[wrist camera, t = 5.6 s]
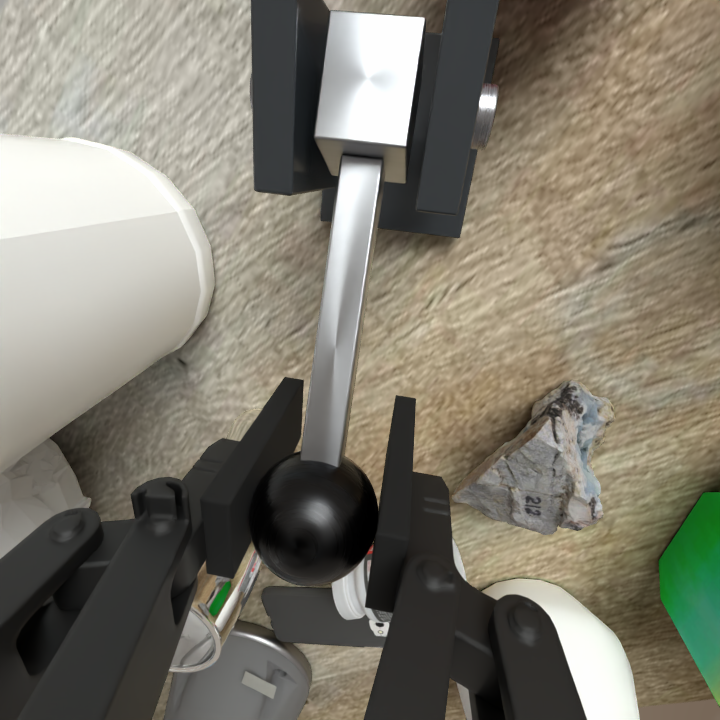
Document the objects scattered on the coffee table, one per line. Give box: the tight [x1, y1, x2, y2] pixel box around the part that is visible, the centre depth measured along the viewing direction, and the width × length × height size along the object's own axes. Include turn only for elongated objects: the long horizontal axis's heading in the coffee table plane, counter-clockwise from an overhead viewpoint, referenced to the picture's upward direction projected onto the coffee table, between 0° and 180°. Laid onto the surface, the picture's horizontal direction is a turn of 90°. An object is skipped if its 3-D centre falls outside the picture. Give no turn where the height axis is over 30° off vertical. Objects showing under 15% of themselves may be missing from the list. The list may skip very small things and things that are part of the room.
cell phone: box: [261, 586, 390, 648], centre depth 40 cm, size 8×15×1 cm, turn 99°
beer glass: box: [169, 408, 303, 673], centre depth 25 cm, size 7×7×15 cm
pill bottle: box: [332, 537, 467, 623], centre depth 33 cm, size 6×6×10 cm
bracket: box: [250, 0, 500, 238], centre depth 15 cm, size 9×8×15 cm
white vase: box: [456, 578, 640, 720], centre depth 30 cm, size 13×13×14 cm
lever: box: [249, 10, 426, 586], centre depth 11 cm, size 14×4×4 cm, turn 174°
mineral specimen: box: [452, 380, 615, 535], centre depth 26 cm, size 10×8×10 cm
